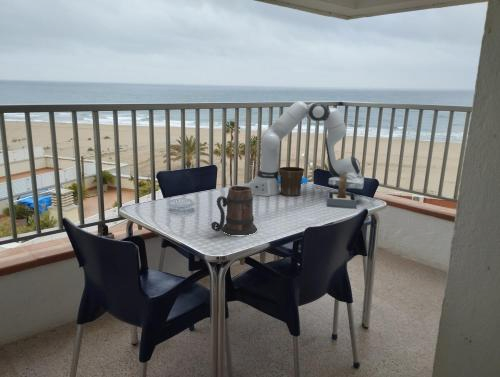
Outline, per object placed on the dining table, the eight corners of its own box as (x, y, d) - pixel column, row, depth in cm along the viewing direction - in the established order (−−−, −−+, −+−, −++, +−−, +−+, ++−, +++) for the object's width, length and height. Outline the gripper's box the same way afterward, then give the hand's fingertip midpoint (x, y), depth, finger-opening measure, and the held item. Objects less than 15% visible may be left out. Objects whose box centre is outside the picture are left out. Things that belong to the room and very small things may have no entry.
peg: (337, 202, 210) (340, 175, 206) (337, 200, 213) (339, 174, 210) (344, 202, 209) (347, 175, 205) (344, 201, 213) (346, 174, 209)
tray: (327, 206, 205) (327, 198, 204) (327, 198, 221) (327, 191, 219) (356, 208, 202) (356, 200, 201) (354, 200, 217) (354, 193, 216)
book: (266, 179, 253) (289, 174, 270) (266, 185, 254) (289, 179, 271) (285, 183, 241) (308, 177, 258) (285, 190, 242) (307, 183, 259)
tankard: (242, 221, 180) (243, 181, 174) (265, 231, 167) (266, 189, 162) (202, 231, 165) (201, 189, 160) (223, 243, 153) (223, 197, 147)
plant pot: (277, 190, 239) (278, 166, 235) (301, 190, 238) (303, 166, 234) (278, 196, 223) (279, 171, 219) (304, 197, 222) (305, 171, 218)
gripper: (333, 173, 224) (325, 177, 212) (366, 178, 213) (360, 182, 202) (332, 183, 225) (324, 188, 214) (365, 188, 215) (359, 193, 204)
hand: (342, 185), depth 208 cm, fingers open, 8 cm apart
